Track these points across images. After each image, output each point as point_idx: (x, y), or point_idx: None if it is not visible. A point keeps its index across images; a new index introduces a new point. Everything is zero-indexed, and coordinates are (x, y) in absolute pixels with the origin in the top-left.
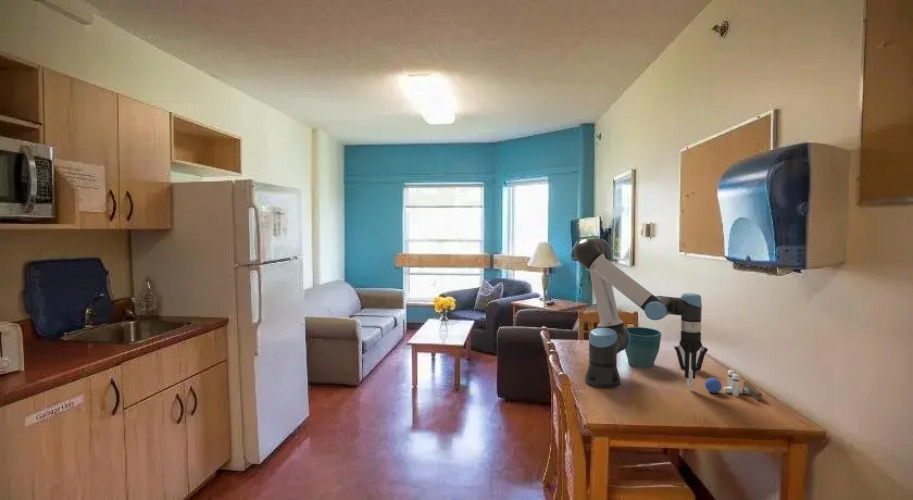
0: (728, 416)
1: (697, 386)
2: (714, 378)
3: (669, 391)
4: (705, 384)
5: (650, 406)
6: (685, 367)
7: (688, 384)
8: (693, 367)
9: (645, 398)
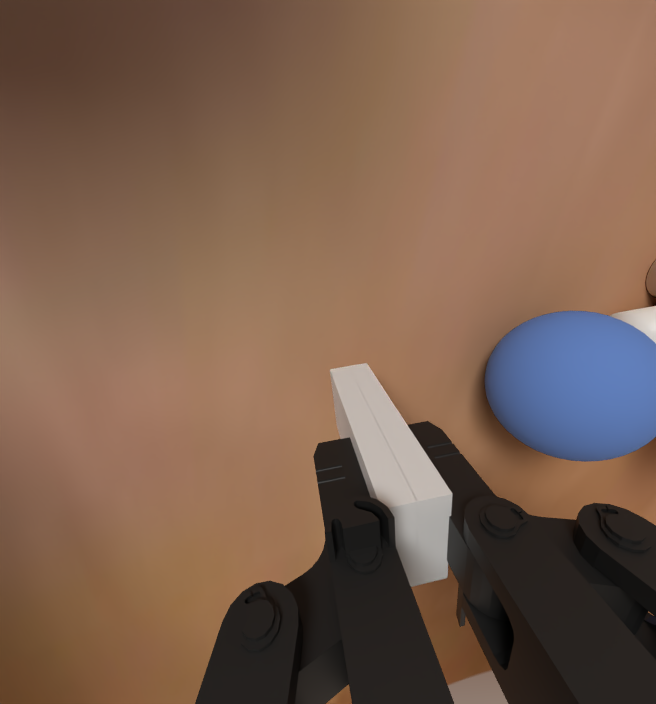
0: (452, 634)
1: (434, 242)
2: (650, 433)
3: (175, 464)
4: (500, 398)
5: (95, 700)
6: (344, 679)
7: (339, 428)
8: (509, 671)
9: (30, 636)
